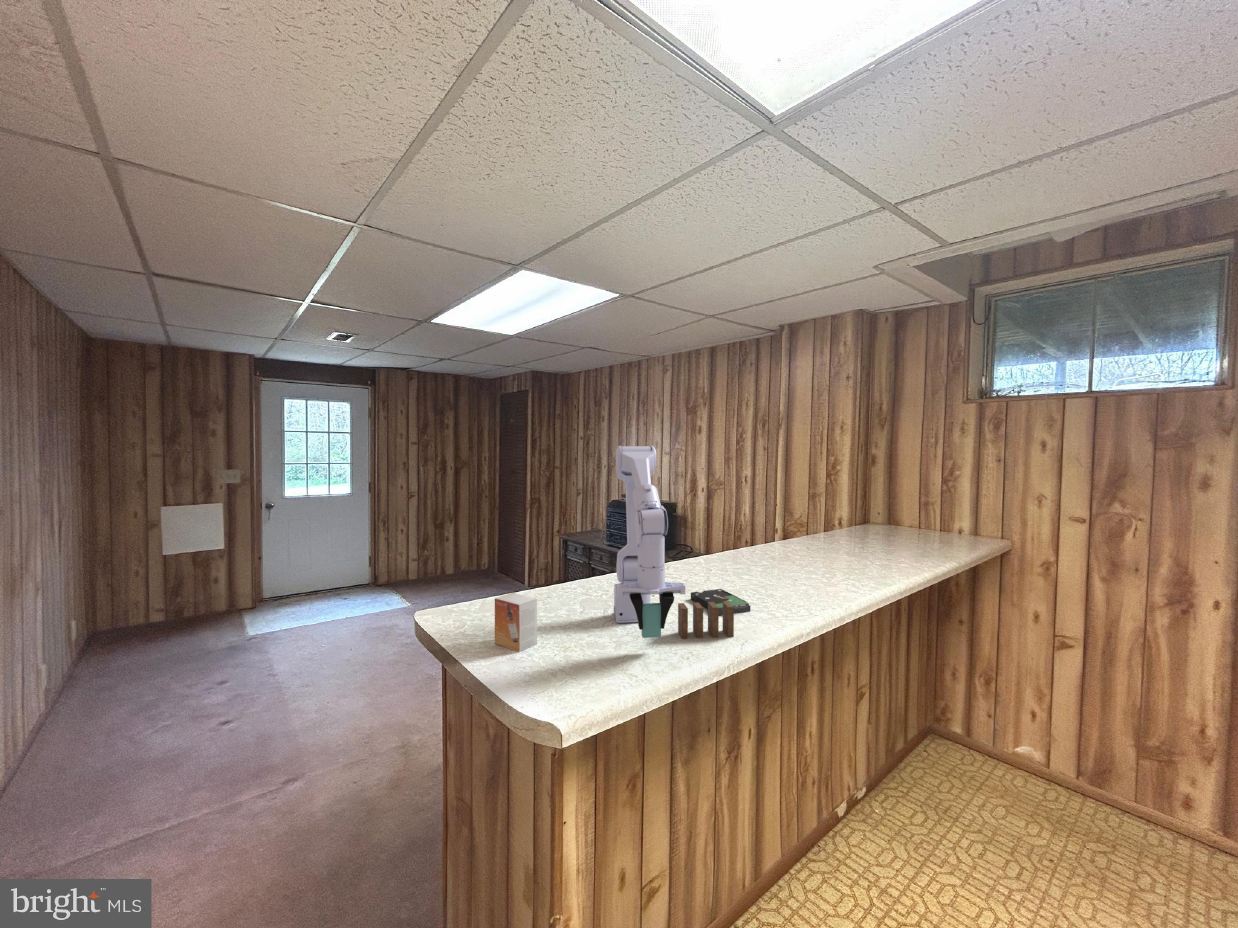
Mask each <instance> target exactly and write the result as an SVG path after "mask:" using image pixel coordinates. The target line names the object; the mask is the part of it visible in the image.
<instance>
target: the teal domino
mask: <svg viewBox="0 0 1238 928" xmlns="http://www.w3.org/2000/svg"><path fill="white" fill-rule="evenodd" d="M642 617H643V629H642V630H641V637H642V639H650V638H653V639H654V638H662V629H661V604H660V602H652V603H651V602H650V603H644V604H643V611H642Z"/></svg>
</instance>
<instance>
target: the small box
mask: <svg viewBox="0 0 1238 928" xmlns="http://www.w3.org/2000/svg"><path fill="white" fill-rule="evenodd" d="M494 644H496V645H499V646H501V645H502V646H501V647H503V648H507V649H509V650H512V651H515V652H517V653H520V652H523V651H524V650H527V649H529V648H531V647H534V646H536V645H537V644H538V598H536V597H531V596H526V595H523V594H519V593H515V592H510V593H507V594H504V595H501V596H498V597H495V598H494ZM535 644H536V645H535Z"/></svg>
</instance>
